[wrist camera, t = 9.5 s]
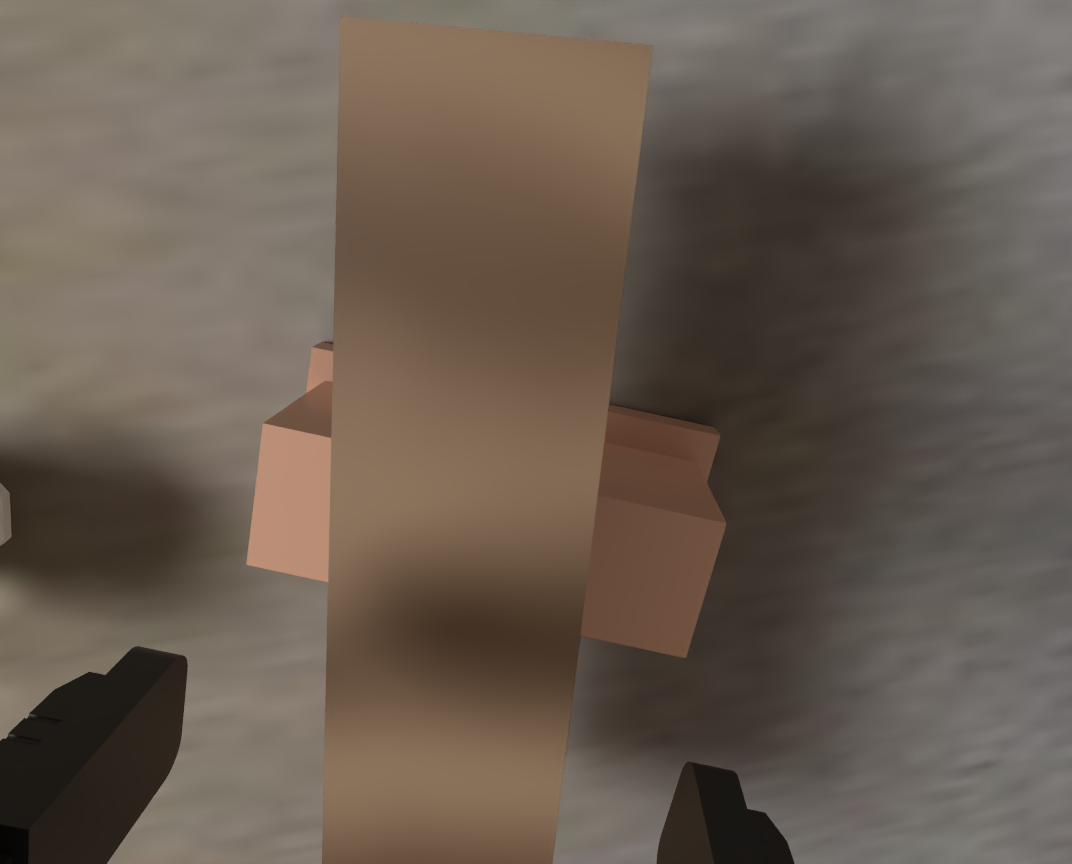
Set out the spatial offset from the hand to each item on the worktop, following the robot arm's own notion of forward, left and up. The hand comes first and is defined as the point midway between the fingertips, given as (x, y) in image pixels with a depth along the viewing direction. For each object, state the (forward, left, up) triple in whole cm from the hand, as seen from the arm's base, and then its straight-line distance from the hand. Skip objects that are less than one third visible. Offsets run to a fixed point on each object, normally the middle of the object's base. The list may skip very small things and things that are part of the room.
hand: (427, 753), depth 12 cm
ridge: (0, 0, -14) cm, 14 cm away
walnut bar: (0, 0, -8) cm, 8 cm away
